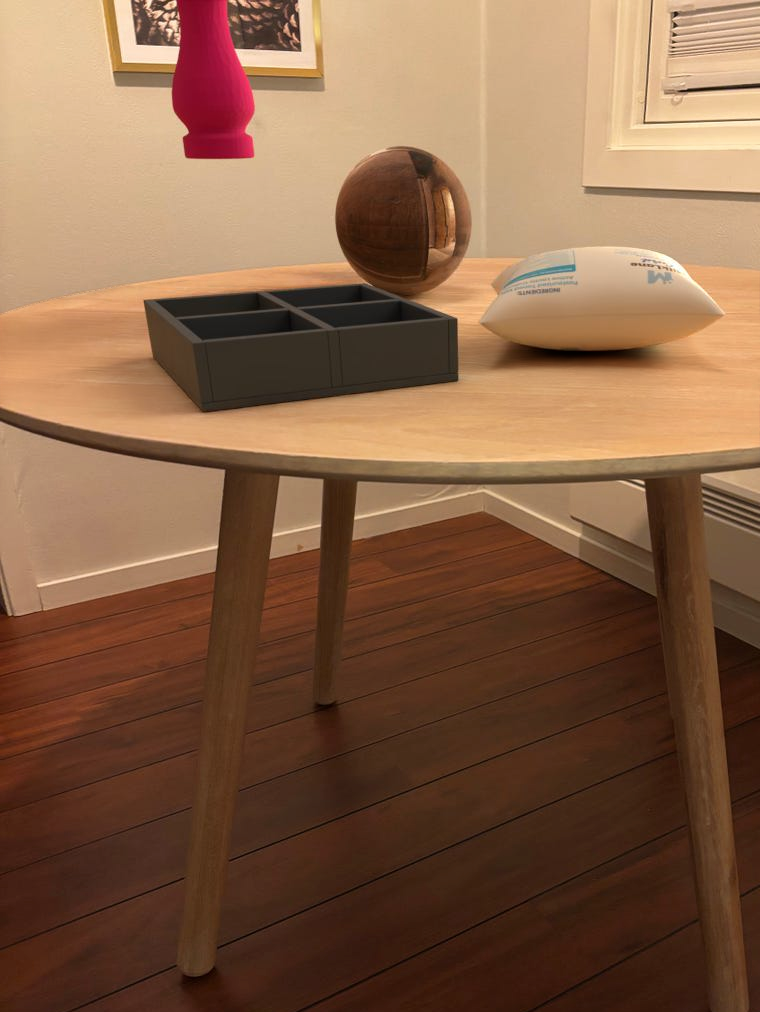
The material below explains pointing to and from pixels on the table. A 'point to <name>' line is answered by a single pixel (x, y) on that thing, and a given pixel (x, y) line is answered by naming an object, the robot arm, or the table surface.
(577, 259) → the pouch
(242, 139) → the pepper mill
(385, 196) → the shiny brown ball
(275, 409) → the table surface
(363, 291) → the compartment tray
